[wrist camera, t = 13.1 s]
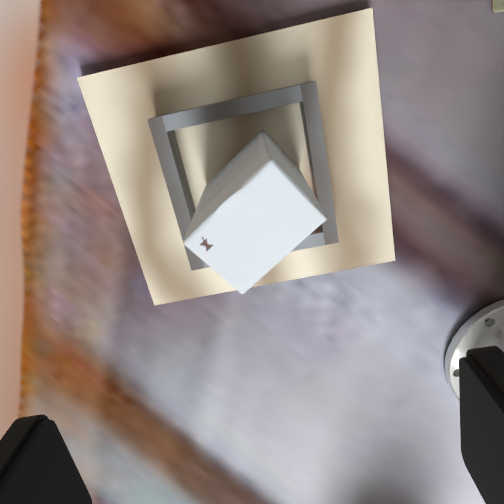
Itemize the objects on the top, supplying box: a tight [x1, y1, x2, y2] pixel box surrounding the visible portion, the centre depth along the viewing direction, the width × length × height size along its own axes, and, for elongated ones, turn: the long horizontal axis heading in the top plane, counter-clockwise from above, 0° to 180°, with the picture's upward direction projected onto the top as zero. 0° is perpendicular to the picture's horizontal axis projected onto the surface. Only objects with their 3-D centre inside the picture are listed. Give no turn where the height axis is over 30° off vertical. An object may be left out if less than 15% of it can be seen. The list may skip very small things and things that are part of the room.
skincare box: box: [183, 130, 327, 294], centre depth 26 cm, size 6×4×12 cm
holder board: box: [77, 8, 395, 305], centre depth 31 cm, size 20×18×4 cm
